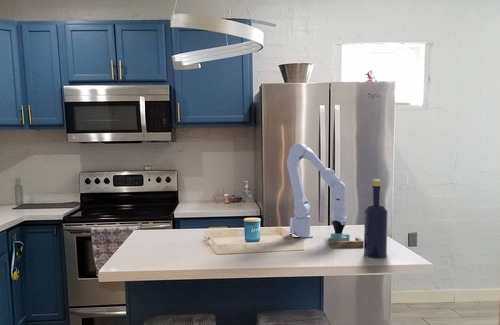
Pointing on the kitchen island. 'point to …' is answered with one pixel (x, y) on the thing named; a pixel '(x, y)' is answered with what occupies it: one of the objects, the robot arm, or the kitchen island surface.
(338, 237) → the t block
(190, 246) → the kitchen island surface
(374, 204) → the bottle
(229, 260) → the kitchen island surface
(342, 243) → the wooden drawer handle
